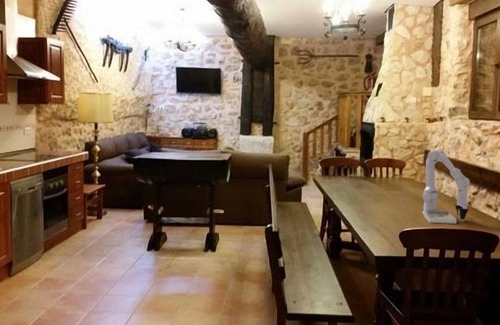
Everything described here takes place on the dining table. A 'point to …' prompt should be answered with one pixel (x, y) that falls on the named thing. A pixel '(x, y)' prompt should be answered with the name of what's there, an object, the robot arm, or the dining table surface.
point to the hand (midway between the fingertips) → (461, 217)
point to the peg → (459, 216)
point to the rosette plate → (439, 217)
